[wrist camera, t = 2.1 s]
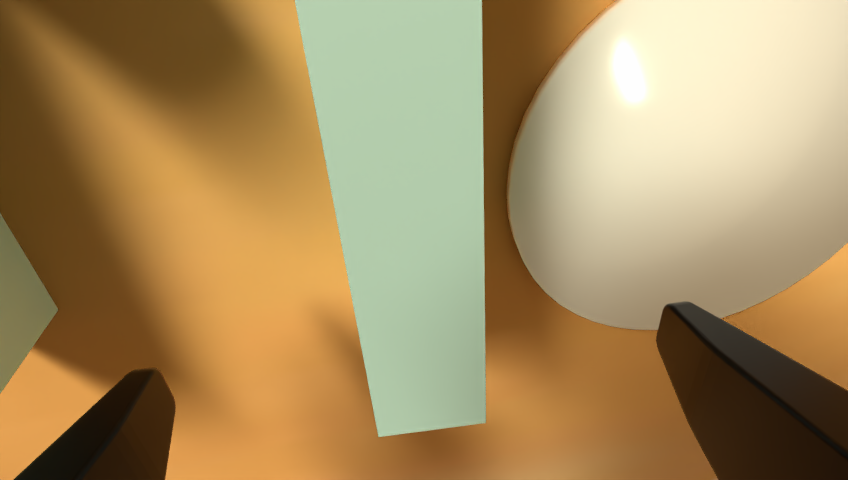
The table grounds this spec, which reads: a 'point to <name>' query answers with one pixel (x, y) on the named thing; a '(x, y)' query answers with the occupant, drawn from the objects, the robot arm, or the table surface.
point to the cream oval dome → (685, 157)
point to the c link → (377, 204)
